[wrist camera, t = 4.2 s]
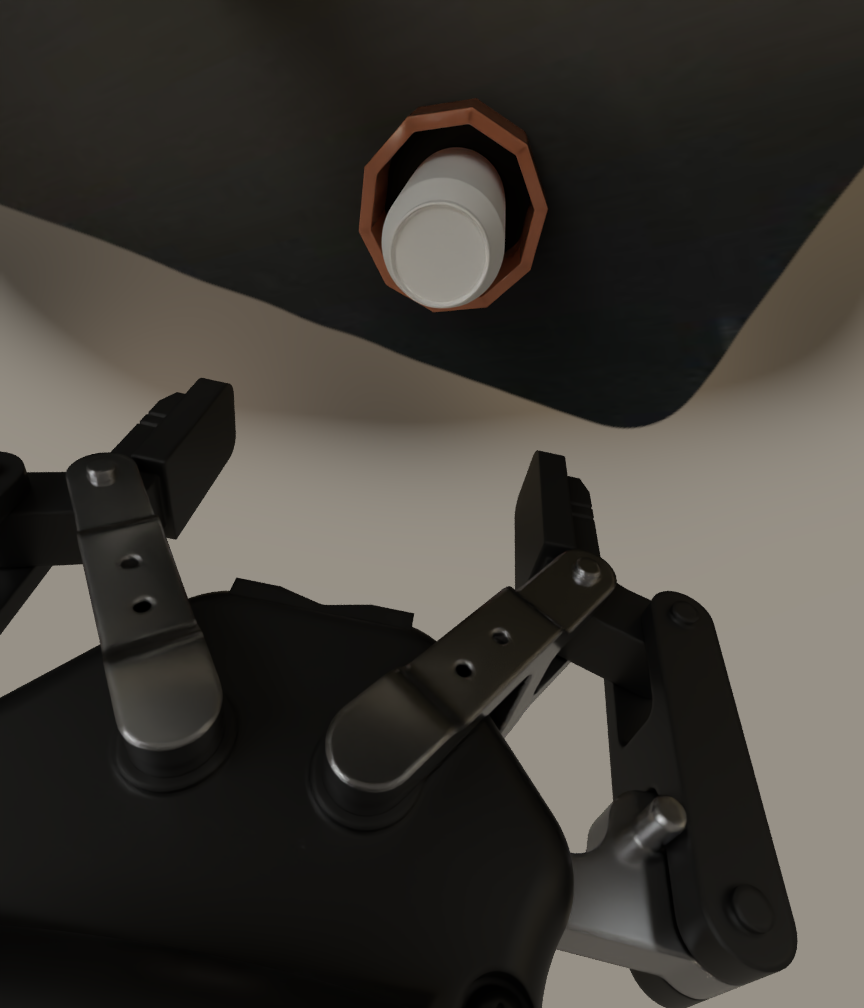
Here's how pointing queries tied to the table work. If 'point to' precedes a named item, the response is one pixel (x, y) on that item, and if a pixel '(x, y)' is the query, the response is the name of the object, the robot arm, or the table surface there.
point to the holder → (498, 130)
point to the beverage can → (447, 229)
